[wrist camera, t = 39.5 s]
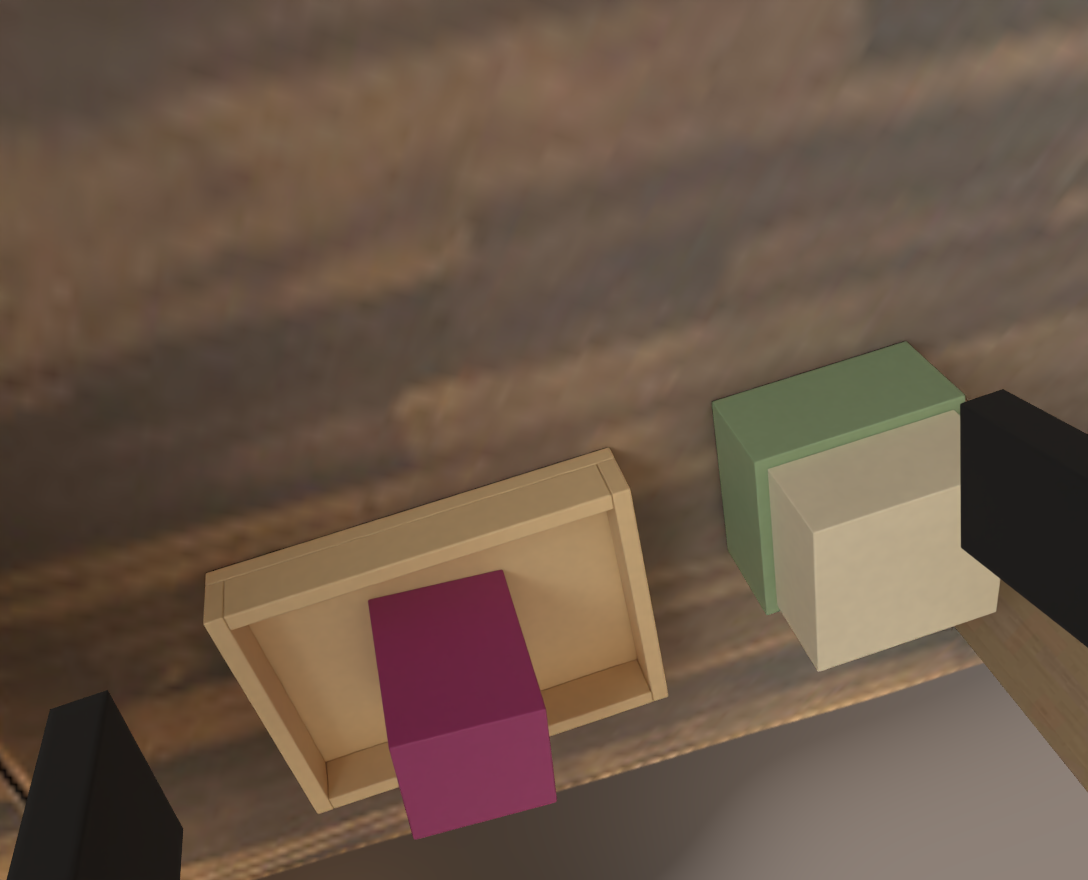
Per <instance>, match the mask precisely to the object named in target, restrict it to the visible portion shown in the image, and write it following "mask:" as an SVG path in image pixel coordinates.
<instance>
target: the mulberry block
mask: <svg viewBox="0 0 1088 880" xmlns="http://www.w3.org/2000/svg"><path fill="white" fill-rule="evenodd" d="M368 606H369V613H370V620H371V627H372V634H373V641H374V648H375V655H376V662H377V669H378V676H379V683H380V690H381V697H382V704H383V712H384V719H385V726H386V733H387V740H388V747H389V751H390V755H391V759H392V762H393V766H394V769H395V773H396V777H397V780H398V784H399V788H400V791H401V795H402V799H403V802H404V806H405V810H406V813H407V817H408V821H409V824H410V828H411V831H412V835H413V838H414V839H415V840H416V839H420V838H424V837H427V836H431V835H435V834H439V833H442V832H446V831H450V830H454V829H457V828H461V827H465V826H468V825H472V824H476V823H480V822H483V821H487V820H491V819H495V818H499V817H503V816H506V815H510V814H514V813H517V812H521V811H525V810H529V809H533V808H536V807H540V806H544V805H548V804H551V803H555V802H556V801H557V796H556V788H555V779H554V771H553V762H552V754H551V745H550V737H549V728H548V720H547V711H546V707H545V704H544V700H543V697H542V694H541V691H540V687H539V684H538V681H537V678H536V675H535V671H534V668H533V665H532V662H531V658H530V655H529V652H528V649H527V646H526V642H525V639H524V636H523V633H522V629H521V626H520V623H519V620H518V617H517V613H516V610H515V607H514V604H513V601H512V597H511V594H510V591H509V588H508V584H507V581H506V578H505V575H504V572H503V570H497V571H493V572H488V573H484V574H480V575H475V576H471V577H466V578H462V579H458V580H453V581H449V582H444V583H440V584H436V585H431V586H427V587H422V588H418V589H414V590H409V591H405V592H401V593H396V594H392V595H387V596H383V597H379V598H374V599H370V600H368Z"/></svg>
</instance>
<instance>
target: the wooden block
mask: <svg viewBox="0 0 1088 880" xmlns="http://www.w3.org/2000/svg"><path fill="white" fill-rule="evenodd" d="M955 628H956V629H957V630H958V631H959V632H960V634H961V635H962V636H963V637H964V639H965V640H966V641H967V642H968V644H969V645H970V646H971V647H972V649H973V650H974V651H975V652H976V654H977V655H978V656H979V657H980V659H981V660H982V661H983V662H984V664H985V665H986V666H987V667H988V669H989V670H990V671H991V672H992V674H993V675H994V676H995V677H996V678H997V680H998V681H999V682H1000V684H1001V685H1002V686H1003V687H1004V688H1005V690H1006V691H1007V692H1008V693H1009V695H1010V696H1011V697H1012V698H1013V700H1014V701H1015V702H1016V703H1017V704H1018V706H1019V707H1020V708H1021V710H1022V711H1023V712H1024V713H1025V715H1026V716H1027V717H1028V718H1029V720H1030V721H1031V722H1032V723H1033V724H1034V726H1035V727H1036V728H1037V730H1038V731H1039V732H1040V733H1041V734H1042V736H1043V737H1044V738H1045V739H1046V741H1047V742H1048V743H1049V745H1050V746H1051V747H1052V748H1053V749H1054V751H1055V752H1056V753H1057V754H1058V756H1059V757H1060V758H1061V759H1062V761H1063V762H1064V763H1065V764H1066V766H1067V767H1068V768H1069V769H1070V770H1071V772H1072V773H1073V774H1074V776H1075V777H1076V778H1077V779H1078V781H1079V782H1080V783H1081V784H1082V785H1083V787H1084V788H1085V789H1086V791H1087V792H1088V648H1087V647H1086V646H1085V645H1084V644H1082V643H1081V642H1080V641H1079V640H1077V639H1076V638H1075V637H1073V636H1072V635H1071V634H1070V633H1068V632H1067V631H1066V630H1065V629H1063V628H1062V627H1061V626H1059V625H1058V624H1057V623H1056V622H1054V621H1053V620H1052V619H1051V618H1049V617H1048V616H1047V615H1046V614H1044V613H1043V612H1042V611H1040V610H1039V609H1038V608H1037V607H1035V606H1034V605H1033V604H1032V603H1030V602H1029V601H1028V600H1026V599H1025V598H1024V597H1023V596H1021V595H1020V594H1019V593H1018V592H1016V591H1015V590H1014V589H1013V588H1011V587H1010V586H1009V585H1007V584H1006V583H1005V582H1004V581H1002V580H1001V579H1000V585H999V593H998V601H997V608H996V612H994V613H991V614H988V615H985V616H982V617H980V618H977V619H974V620H971V621H968V622H965V623H962V624H959V625H956V626H955Z"/></svg>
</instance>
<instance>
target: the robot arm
mask: <svg viewBox="0 0 1088 880" xmlns="http://www.w3.org/2000/svg"><path fill="white" fill-rule="evenodd" d="M960 489H961V548H962V549H963V550H964V551H966V552H967V553H968V554H969V555H971V556H972V557H973V558H974V559H976V560H977V561H978V562H980V563H981V564H982V565H983V566H985V567H986V568H987V569H988V570H990V571H991V572H992V573H993V574H995V575H996V576H997V577H999V578H1000V579H1001V580H1002V581H1004V582H1005V583H1006V584H1007V585H1009V586H1010V587H1011V588H1013V589H1014V590H1015V591H1016V592H1018V593H1019V594H1020V595H1021V596H1023V597H1024V598H1025V599H1026V600H1028V601H1029V602H1030V603H1032V604H1033V605H1034V606H1035V607H1037V608H1038V609H1039V610H1040V611H1042V612H1043V613H1044V614H1046V615H1047V616H1048V617H1049V618H1051V619H1052V620H1053V621H1054V622H1056V623H1057V624H1058V625H1059V626H1061V627H1062V628H1063V629H1065V630H1066V631H1067V632H1068V633H1070V634H1071V635H1072V636H1073V637H1075V638H1076V639H1077V640H1079V641H1080V642H1081V643H1082V644H1084V645H1085V646H1086V647H1087V648H1088V435H1087V434H1085V433H1084V432H1082V431H1080V430H1078V429H1076V428H1074V427H1072V426H1070V425H1069V424H1067V423H1065V422H1063V421H1061V420H1059V419H1057V418H1056V417H1054V416H1052V415H1050V414H1048V413H1046V412H1044V411H1043V410H1041V409H1039V408H1037V407H1035V406H1033V405H1031V404H1030V403H1028V402H1026V401H1024V400H1022V399H1020V398H1018V397H1017V396H1015V395H1013V394H1011V393H1009V392H1007V391H1005V390H1003V389H1002V390H999V391H996V392H993V393H991V394H988V395H985V396H982V397H979V398H976V399H973V400H970V401H967V402H964V403H961V404H960ZM182 839H183V827H182V826H181V824H180V822H179V820H178V818H177V816H176V815H175V813H174V811H173V809H172V807H171V805H170V804H169V802H168V800H167V798H166V796H165V794H164V793H163V791H162V789H161V787H160V785H159V783H158V782H157V780H156V778H155V776H154V774H153V772H152V771H151V769H150V767H149V765H148V763H147V761H146V760H145V758H144V756H143V754H142V752H141V750H140V749H139V747H138V745H137V743H136V741H135V739H134V737H133V736H132V734H131V732H130V730H129V728H128V726H127V725H126V723H125V721H124V719H123V717H122V715H121V714H120V712H119V710H118V708H117V706H116V704H115V703H114V701H113V699H112V697H111V695H110V693H109V692H108V690H106V691H103V692H100V693H97V694H95V695H92V696H89V697H86V698H83V699H80V700H77V701H74V702H71V703H68V704H65V705H62V706H59V707H56V708H53V709H50V711H49V715H48V719H47V723H46V727H45V731H44V735H43V739H42V743H41V747H40V751H39V755H38V759H37V762H36V766H35V770H34V774H33V778H32V782H31V786H30V790H29V794H28V798H27V802H26V806H25V810H24V813H23V817H22V821H21V825H20V829H19V833H18V837H17V841H16V845H15V849H14V853H13V857H12V861H11V865H10V868H9V872H8V876H7V880H180V871H181V855H182Z"/></svg>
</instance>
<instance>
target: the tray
mask: <svg viewBox="0 0 1088 880" xmlns="http://www.w3.org/2000/svg"><path fill="white" fill-rule="evenodd" d="M497 570H503V572H504V575H505V578H506V581H507V584H508V588H509V591H510V594H511V597H512V601H513V604H514V607H515V610H516V613H517V617H518V620H519V623H520V626H521V629H522V633H523V636H524V639H525V642H526V646H527V649H528V652H529V655H530V658H531V662H532V665H533V668H534V671H535V675H536V678H537V681H538V684H539V687H540V691H541V694H542V697H543V700H544V704H545V707H546V711H547V720H548V728H549V736H552V735H555V734H558V733H561V732H564V731H567V730H570V729H573V728H576V727H579V726H582V725H585V724H588V723H591V722H594V721H597V720H600V719H603V718H606V717H609V716H612V715H615V714H618V713H621V712H624V711H627V710H630V709H633V708H636V707H639V706H642V705H645V704H648V703H651V702H653V701H657V700H660V699H663V698H666V697H668V690H667V684H666V679H665V674H664V668H663V663H662V657H661V652H660V647H659V641H658V636H657V630H656V625H655V620H654V614H653V609H652V603H651V598H650V592H649V587H648V582H647V576H646V571H645V565H644V560H643V555H642V549H641V544H640V538H639V533H638V528H637V522H636V517H635V511H634V506H633V500H632V495H631V490H630V487H629V485H628V483H627V481H626V480H625V478H624V476H623V474H622V472H621V470H620V468H619V466H618V464H617V462H616V460H615V459H614V456H613V454H612V452H611V450H610V448H605V449H602V450H599V451H595V452H592V453H589V454H586V455H583V456H579V457H576V458H573V459H570V460H567V461H563V462H560V463H557V464H554V465H551V466H547V467H544V468H541V469H538V470H535V471H531V472H528V473H525V474H522V475H519V476H515V477H512V478H509V479H506V480H503V481H499V482H496V483H493V484H490V485H487V486H483V487H480V488H477V489H474V490H471V491H467V492H464V493H461V494H458V495H455V496H452V497H448V498H445V499H442V500H439V501H436V502H432V503H429V504H426V505H423V506H420V507H416V508H413V509H410V510H407V511H404V512H400V513H397V514H394V515H391V516H388V517H384V518H381V519H378V520H375V521H372V522H368V523H365V524H362V525H359V526H356V527H352V528H349V529H346V530H343V531H340V532H336V533H333V534H330V535H327V536H324V537H320V538H317V539H314V540H311V541H308V542H304V543H301V544H298V545H295V546H292V547H288V548H285V549H282V550H279V551H276V552H272V553H269V554H266V555H263V556H260V557H256V558H253V559H250V560H247V561H244V562H240V563H237V564H234V565H231V566H228V567H224V568H221V569H218V570H215V571H212V572H209V573H206V576H205V599H204V620H203V625H204V626H205V628H206V630H207V631H208V633H209V635H210V636H211V638H212V640H213V641H214V643H215V645H216V646H217V648H218V649H219V651H220V653H221V654H222V656H223V658H224V659H225V661H226V663H227V664H228V666H229V668H230V669H231V671H232V673H233V674H234V676H235V678H236V679H237V681H238V683H239V684H240V686H241V688H242V689H243V691H244V693H245V694H246V696H247V698H248V699H249V701H250V703H251V704H252V706H253V708H254V709H255V711H256V712H257V714H258V716H259V717H260V719H261V721H262V722H263V724H264V726H265V727H266V729H267V731H268V732H269V734H270V736H271V737H272V739H273V741H274V742H275V744H276V746H277V747H278V749H279V751H280V752H281V754H282V756H283V757H284V759H285V761H286V762H287V764H288V766H289V767H290V769H291V771H292V772H293V774H294V775H295V777H296V779H297V780H298V782H299V784H300V785H301V787H302V789H303V790H304V792H305V794H306V795H307V797H308V799H309V800H310V802H311V804H312V805H313V807H314V809H315V810H316V812H317V814H320V813H323V812H326V811H329V810H332V809H333V807H334V808H337V807H340V806H343V805H346V804H349V803H352V802H355V801H358V800H361V799H364V798H367V797H370V796H373V795H376V794H379V793H382V792H385V791H388V790H391V789H394V788H397V787H399V784H398V780H397V777H396V773H395V769H394V766H393V762H392V759H391V755H390V751H389V747H388V740H387V733H386V726H385V719H384V712H383V704H382V697H381V690H380V683H379V676H378V669H377V662H376V655H375V648H374V641H373V634H372V627H371V620H370V613H369V606H368V600H370V599H374V598H379V597H383V596H387V595H392V594H396V593H401V592H405V591H409V590H414V589H418V588H422V587H427V586H431V585H436V584H440V583H444V582H449V581H453V580H458V579H462V578H466V577H471V576H475V575H480V574H484V573H488V572H493V571H497Z"/></svg>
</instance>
